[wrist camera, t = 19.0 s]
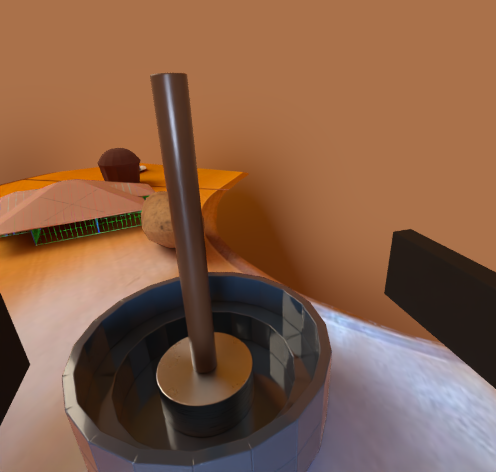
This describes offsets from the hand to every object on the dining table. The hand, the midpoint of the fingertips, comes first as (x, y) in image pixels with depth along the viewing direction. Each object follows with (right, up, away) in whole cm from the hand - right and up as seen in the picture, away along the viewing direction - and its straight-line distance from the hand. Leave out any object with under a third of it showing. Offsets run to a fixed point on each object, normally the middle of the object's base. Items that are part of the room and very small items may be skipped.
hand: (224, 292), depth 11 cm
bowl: (-2, -11, +14) cm, 18 cm away
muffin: (-35, +16, +81) cm, 90 cm away
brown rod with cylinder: (-2, -10, +14) cm, 17 cm away
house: (-35, +5, +54) cm, 65 cm away
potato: (-11, 0, +42) cm, 43 cm away
